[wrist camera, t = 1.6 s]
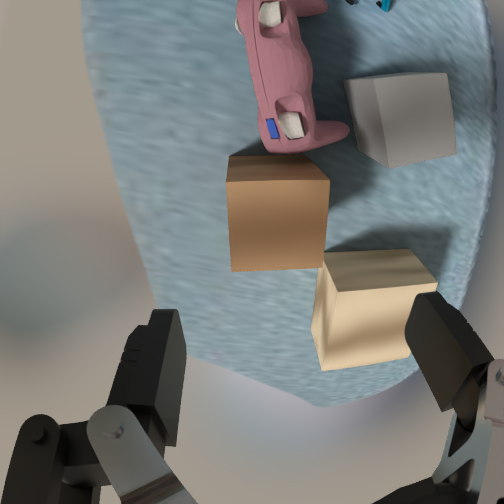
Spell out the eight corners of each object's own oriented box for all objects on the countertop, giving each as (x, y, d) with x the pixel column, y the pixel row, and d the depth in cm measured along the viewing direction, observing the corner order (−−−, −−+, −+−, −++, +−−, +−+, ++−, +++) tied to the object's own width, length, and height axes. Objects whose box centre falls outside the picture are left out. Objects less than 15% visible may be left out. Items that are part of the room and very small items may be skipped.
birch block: (319, 252, 23) (337, 291, 19) (409, 248, 23) (438, 282, 19) (310, 328, 27) (322, 370, 23) (388, 320, 27) (408, 357, 23)
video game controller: (262, 10, 16) (208, -10, 10) (328, -2, 14) (299, -35, 8) (288, 141, 20) (246, 171, 15) (352, 138, 18) (336, 168, 13)
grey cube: (342, 80, 17) (373, 79, 13) (405, 72, 16) (446, 73, 12) (357, 150, 19) (389, 168, 15) (416, 138, 19) (456, 154, 15)
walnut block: (229, 155, 19) (225, 182, 14) (305, 154, 20) (330, 180, 14) (232, 225, 22) (231, 271, 17) (302, 222, 22) (322, 267, 17)
